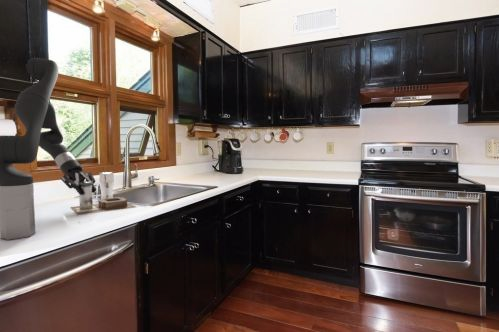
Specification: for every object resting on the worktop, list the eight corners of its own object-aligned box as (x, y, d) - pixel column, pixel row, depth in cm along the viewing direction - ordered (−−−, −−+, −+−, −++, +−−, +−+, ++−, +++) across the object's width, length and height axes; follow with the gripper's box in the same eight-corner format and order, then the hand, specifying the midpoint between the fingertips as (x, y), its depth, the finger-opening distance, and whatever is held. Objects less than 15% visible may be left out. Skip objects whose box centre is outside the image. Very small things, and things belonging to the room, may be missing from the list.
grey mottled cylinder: (94, 209, 127) (93, 182, 126) (80, 210, 123) (79, 183, 122) (92, 206, 131) (91, 180, 130) (77, 208, 127) (77, 181, 126)
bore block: (136, 210, 132) (136, 200, 132) (77, 218, 117) (76, 207, 117) (124, 203, 146) (124, 195, 146) (70, 210, 131) (69, 200, 130)
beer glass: (100, 199, 156) (100, 172, 154) (114, 198, 158) (114, 172, 157) (99, 202, 149) (98, 173, 148) (113, 201, 152) (113, 173, 150)
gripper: (56, 159, 121) (78, 189, 118) (86, 158, 134) (106, 184, 131) (48, 171, 123) (69, 201, 120) (78, 168, 137) (98, 195, 134)
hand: (88, 192), depth 126 cm, fingers open, 5 cm apart
